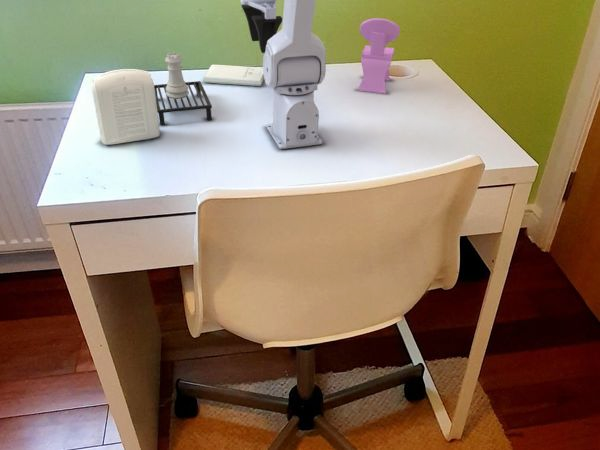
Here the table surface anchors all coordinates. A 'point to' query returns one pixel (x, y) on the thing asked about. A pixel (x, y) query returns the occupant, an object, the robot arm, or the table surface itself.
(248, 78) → the hard drive
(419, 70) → the table surface
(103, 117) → the photo printer
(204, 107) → the rack
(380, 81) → the toy chair
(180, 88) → the rook chess piece
